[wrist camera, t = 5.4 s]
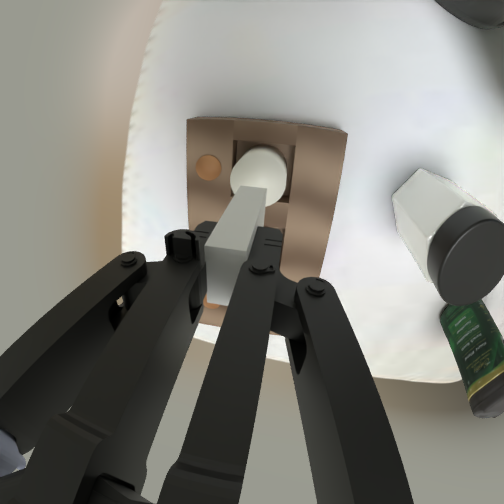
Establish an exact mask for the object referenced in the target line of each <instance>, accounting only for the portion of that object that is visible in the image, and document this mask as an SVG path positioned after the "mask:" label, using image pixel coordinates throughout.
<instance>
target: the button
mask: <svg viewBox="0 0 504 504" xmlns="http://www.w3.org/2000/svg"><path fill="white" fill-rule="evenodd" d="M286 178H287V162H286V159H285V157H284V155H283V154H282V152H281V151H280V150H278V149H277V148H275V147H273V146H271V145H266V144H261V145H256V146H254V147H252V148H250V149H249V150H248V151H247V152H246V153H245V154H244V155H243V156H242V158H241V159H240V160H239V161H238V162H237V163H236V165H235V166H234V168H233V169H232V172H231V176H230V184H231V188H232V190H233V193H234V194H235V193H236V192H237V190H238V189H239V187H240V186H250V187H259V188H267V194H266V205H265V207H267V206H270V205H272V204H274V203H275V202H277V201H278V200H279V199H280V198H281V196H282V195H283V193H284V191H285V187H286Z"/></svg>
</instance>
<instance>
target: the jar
mask: <svg viewBox="0 0 504 504" xmlns="http://www.w3.org/2000/svg"><path fill="white" fill-rule="evenodd" d="M392 201H393V207H394V213H395V220H396V227H397V232H398V234H399V236H400V237H401V239H402V240H403V242H404V243H405V245H406V247H407V248H408V250H409V251H410V253H411V255H412V256H413V258H414V260H415V261H416V263H417V265H418V266H419V268H420V270H421V272H422V273H423V275H424V277H425V279H426V280H427V282H429V283H434V285H435V287H436V289H437V291H438V292H439V294H440V296H441V297H442V299H443V300H444V301H445V302H447V303H448V304H451V305H454V306H465V305H469V304H472V303H474V302H476V301H478V300H480V299H482V298H483V297H485V296H486V295H487V294H488V293H489V292H491V291H492V290H493V288H494V287H495V286H496V285H497V284H498V283H499V281H500V280H501V278H502V277H503V275H504V223H503V222H501V221H500V220H499V219H498V218H497V215H496V214H495V213H494V212H492V211H491V210H490V209H489V208H487V207H486V206H485V205H484V204H482V203H481V202H480V201H478V200H477V199H476V198H474V197H473V196H472V195H470V194H469V193H468V192H466V191H465V190H464V189H462V188H461V187H459V186H458V185H456V184H455V183H454V182H452V181H451V180H449V179H446V178H444V177H441V176H439V175H437V174H434V173H432V172H429V171H427V170H424V169H421V168H419V169H418V170H417V171H416V172H415V173H414V174H413V175H412V176H411V177H410V178H409V179H408V180H407V181H406V182H405V183H404V184H403V185H402V186H401V187H400V188H399V189H398V190H397V191H396V192H395V193H394V194H393V195H392Z"/></svg>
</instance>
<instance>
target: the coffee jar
mask: <svg viewBox="0 0 504 504" xmlns="http://www.w3.org/2000/svg"><path fill="white" fill-rule="evenodd" d="M440 322H441V325H442V328H443V330H444V332H445V335H446V337H447V339H448V342H449V344H450V347H451V349H452V352H453V354H454V357H455V360H456V362H457V365H458V368H459V371H460V374H461V377H462V380H463V383H464V386H465V389H466V393H467V396H468V400H469V403H470V406H471V409H472V412H473V414H474V416H476V417H479V418H489V417H493V418H495V417H497V416H499V415H500V414H502V413H503V412H504V339H503V337H502V335H501V333H500V331H499V329H498V328H497V326H496V324H495V322H494V320H493V318H492V317H491V315H490V313H489V311H488V309H487V308H486V306H485V304H484V303H483V301H482V300H481V299H480V300H478V301H476V302H474V303H472V304H469V305H465V306H454V305H451V304H449V305H448V307H447V308H446V309H445V311H444V312H443V313H442V315H441V318H440Z"/></svg>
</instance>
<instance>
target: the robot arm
mask: <svg viewBox="0 0 504 504" xmlns="http://www.w3.org/2000/svg"><path fill="white" fill-rule="evenodd" d="M436 1H437V2H438V3H439V4H440V5H441V6H442V7H444V8H445V9H446V10H448V11H449V12H450V13H452V14H453V15H454V16H456V17H457V18H459V19H461V20H462V21H464V22H466V23H468V24H470V25H472V26H475V27H478V28H482V29H493V28H499V27H503V26H504V0H436ZM266 194H267V188H259V187H250V186H240V187H239V189H238V190H237V192H236V193H235V195H234V197H233V198H232V200H231V202H230V203H229V205H228V206H227V208H226V210H225V211H224V213H223V215H222V216H221V218H220V220H219V221H218V222H214V221H204V222H202V223H200V224H198V225H197V227H196V228H195V230H194V231H192V230H187V229H180V230H174V231H172V232H169V233H168V234H166V235H165V236H164V237H165V245H166V253H167V255H166V257H165V258H164V260H163V261H158V262H146V258H145V256H144V255H143V254H142V253H140V252H136V251H132V252H131V251H130V252H126V253H123V254H121V255H119V256H117V257H116V258H115V259H113V260H112V261H110V262H109V263H108V264H107V265H105V266H104V267H103V268H101V269H100V270H99V271H97V272H96V273H95V274H93V275H92V276H91V277H90V278H88V279H87V280H86V281H85V282H84V283H82V284H81V285H80V286H78V287H77V288H76V289H75V290H73V291H72V292H71V293H70V294H69V295H67V296H66V297H65V298H64V299H62V300H61V301H60V302H59V303H58V304H57V305H56V306H54V307H53V308H52V309H51V310H50V311H48V312H47V313H46V314H45V315H44V316H43V317H42V318H40V319H39V320H38V321H37V322H36V323H35V324H34V325H33V326H32V327H30V328H29V329H28V330H27V331H26V332H25V333H24V334H23V335H22V336H21V337H20V338H19V339H18V340H16V341H15V342H14V343H13V344H12V345H11V346H10V347H9V348H8V349H7V350H6V351H5V352H4V353H3V354H2V355H1V356H0V504H153V503H151V502H150V501H148V500H146V499H145V498H143V497H142V496H140V495H141V491H142V489H143V486H144V483H145V479H146V475H147V469H146V460H147V457H148V454H149V451H150V448H151V446H152V443H153V440H154V437H155V434H156V432H157V429H158V426H159V424H160V421H161V418H162V416H163V413H164V410H165V408H166V405H167V402H168V400H169V397H170V394H171V392H172V389H173V386H174V384H175V381H176V379H177V376H178V373H179V371H180V369H181V366H182V363H183V361H184V358H185V355H186V353H187V350H188V348H189V345H190V343H191V341H192V338H193V336H194V333H195V331H196V328H197V326H198V323H199V321H200V318H201V316H202V313H203V309H204V304H203V300H204V298H205V295H206V293H207V302H208V303H214V304H219V305H225V306H228V307H227V310H226V314H225V317H224V320H223V323H222V326H221V329H220V332H219V335H218V338H217V341H216V344H215V347H214V350H213V354H212V356H211V359H210V362H209V366H208V369H207V372H206V375H205V378H204V381H203V384H202V387H201V390H200V393H199V396H198V399H197V403H196V406H195V409H194V412H193V415H192V418H191V421H190V424H189V428H188V431H187V434H186V437H185V440H184V443H183V446H182V449H181V453H180V455H179V458H178V459H177V461H176V462H175V463H174V464H173V465H172V466H171V468H170V469H169V471H168V473H167V475H166V478H165V480H164V483H163V487H162V489H161V492H160V495H159V499H158V502H157V504H238V503H239V498H240V494H241V489H242V484H243V479H244V473H245V469H246V464H247V459H248V454H249V449H250V444H251V438H252V433H253V428H254V422H255V417H256V411H257V406H258V400H259V395H260V389H261V383H262V377H263V371H264V365H265V359H266V353H267V346H268V340H269V334H270V331H272V332H274V333H277V334H279V335H281V336H284V337H285V342H286V346H287V351H288V356H289V361H290V366H291V370H292V375H293V380H294V384H295V390H296V395H297V399H298V405H299V410H300V414H301V420H302V424H303V430H304V435H305V440H306V445H307V451H308V456H309V461H310V466H311V472H312V477H313V482H314V487H315V493H316V498H317V504H414V503H413V499H412V495H411V492H410V488H409V484H408V480H407V477H406V473H405V470H404V467H403V463H402V460H401V457H400V454H399V451H398V448H397V444H396V441H395V438H394V435H393V432H392V429H391V426H390V424H389V421H388V418H387V415H386V412H385V410H384V407H383V404H382V401H381V399H380V396H379V393H378V391H377V388H376V385H375V383H374V380H373V378H372V375H371V372H370V370H369V367H368V365H367V362H366V360H365V358H364V355H363V353H362V350H361V348H360V345H359V343H358V341H357V338H356V336H355V334H354V331H353V329H352V327H351V324H350V322H349V320H348V318H347V315H346V313H345V311H344V309H343V306H342V304H341V302H340V300H339V298H338V295H337V293H336V291H335V289H334V287H333V286H332V285H331V284H330V283H329V282H328V281H326V280H324V279H321V278H319V277H306V278H303V279H301V280H299V282H298V283H297V282H294V281H292V280H290V279H288V278H286V277H285V276H284V275H283V274H282V273H281V272H280V270H279V262H280V254H281V246H282V238H283V234H282V233H281V231H280V230H279V229H276V228H268V227H264V216H265V205H266ZM121 296H122V299H123V303H122V304H121V305H118V304H117V300H118V299H119V298H120V297H121ZM71 406H72V407H71ZM70 407H71V408H70ZM69 408H70V410H69V411H68V409H69ZM67 411H68V412H67ZM34 447H35V448H34ZM33 448H34V450H33V453H32V455H31V457H30V459H29V462H28V464H27V466H26V461H25V458H24V457H23V456H22V455H23V454H25V453H27V452H28V451H30V450H31V449H33ZM25 466H26V468H25ZM16 468H17V469H19V471H16V472H13V471H14V470H15V469H16ZM12 472H13V473H12Z"/></svg>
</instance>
